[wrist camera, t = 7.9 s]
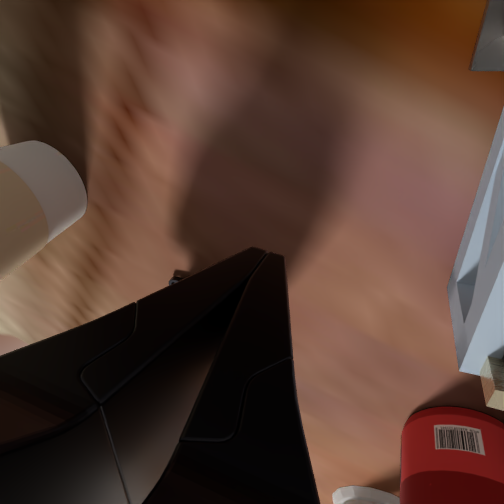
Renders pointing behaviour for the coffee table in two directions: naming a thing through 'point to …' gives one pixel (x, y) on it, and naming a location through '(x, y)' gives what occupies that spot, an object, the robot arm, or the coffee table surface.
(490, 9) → the hinge post
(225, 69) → the coffee table surface
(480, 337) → the gate
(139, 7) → the coffee table surface
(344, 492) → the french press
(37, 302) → the coffee table surface
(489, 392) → the latch stile
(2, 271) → the coffee cup
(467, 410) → the canned food
